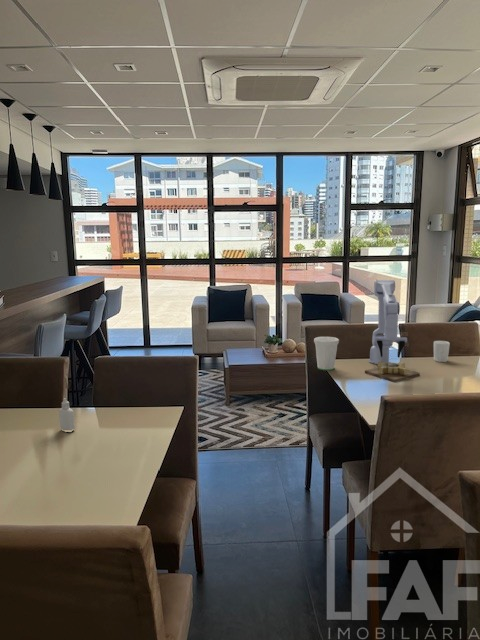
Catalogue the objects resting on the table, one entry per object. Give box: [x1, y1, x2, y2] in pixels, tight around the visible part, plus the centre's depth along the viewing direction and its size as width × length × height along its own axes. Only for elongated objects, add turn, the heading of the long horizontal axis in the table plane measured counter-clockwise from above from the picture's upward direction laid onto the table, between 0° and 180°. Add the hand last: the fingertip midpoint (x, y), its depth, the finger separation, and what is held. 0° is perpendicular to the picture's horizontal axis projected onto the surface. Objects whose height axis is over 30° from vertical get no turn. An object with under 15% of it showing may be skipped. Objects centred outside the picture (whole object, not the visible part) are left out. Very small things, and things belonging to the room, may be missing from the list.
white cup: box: [433, 340, 451, 363], centre depth 243 cm, size 8×8×10 cm
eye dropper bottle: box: [58, 397, 76, 430], centre depth 160 cm, size 4×6×12 cm
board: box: [364, 364, 421, 383], centre depth 220 cm, size 18×18×5 cm
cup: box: [313, 336, 340, 371], centre depth 231 cm, size 12×12×15 cm
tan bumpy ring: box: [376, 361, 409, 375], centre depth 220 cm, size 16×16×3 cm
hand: (389, 356), depth 214 cm, fingers open, 7 cm apart
